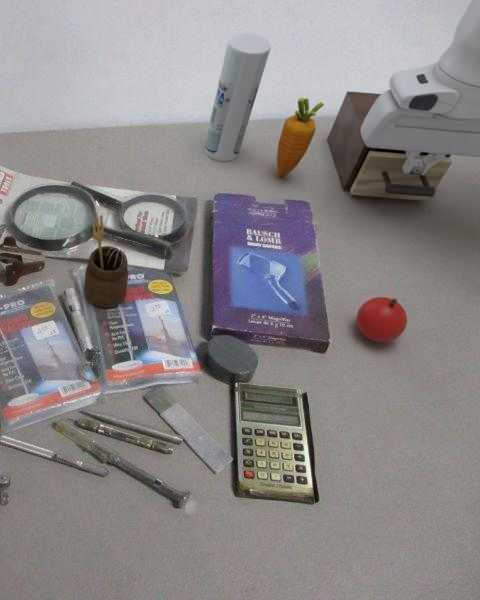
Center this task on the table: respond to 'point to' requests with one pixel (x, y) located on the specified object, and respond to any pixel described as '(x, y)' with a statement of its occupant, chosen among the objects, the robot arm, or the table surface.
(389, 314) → the apple
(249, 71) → the spray can
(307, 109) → the carrot
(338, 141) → the cabinet
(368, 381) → the table surface
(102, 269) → the utensil holder
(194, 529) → the table surface
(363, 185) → the drawer
